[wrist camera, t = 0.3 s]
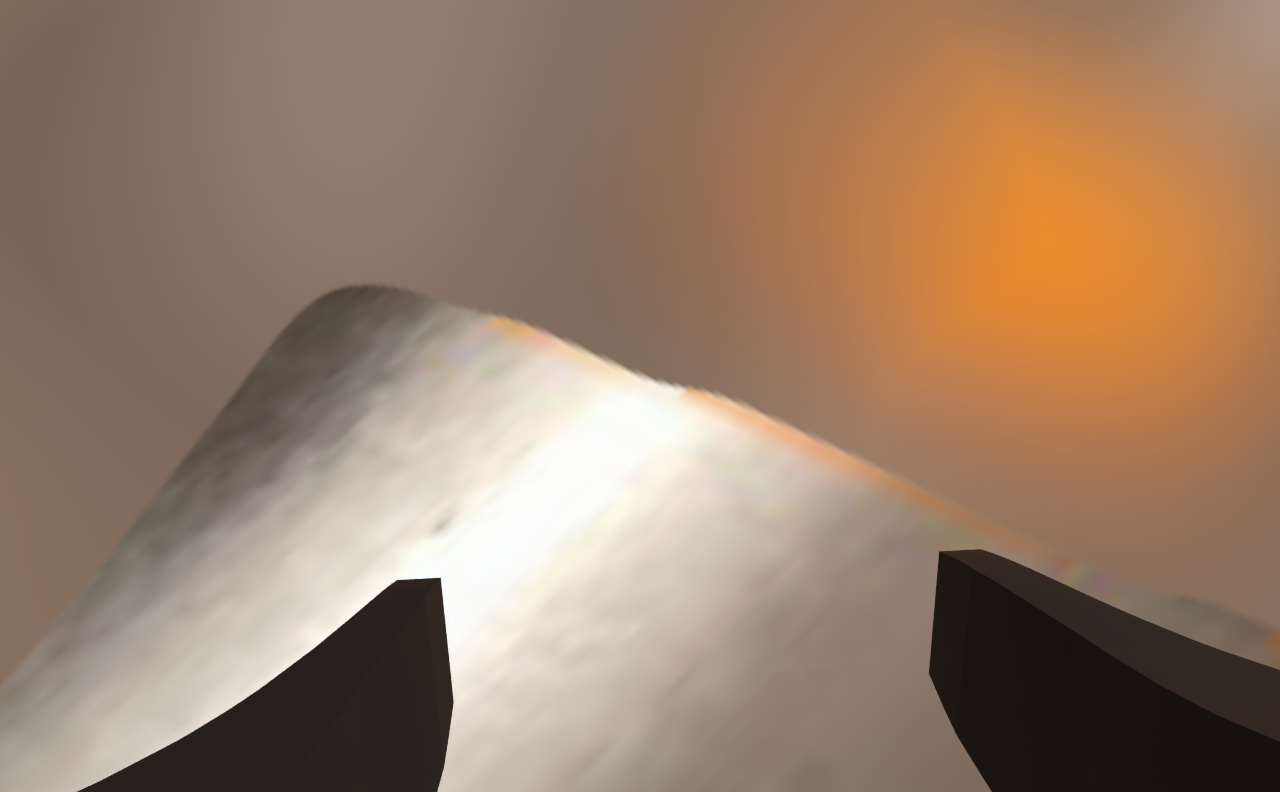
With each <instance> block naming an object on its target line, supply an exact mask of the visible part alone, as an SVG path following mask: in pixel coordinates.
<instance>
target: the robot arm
mask: <svg viewBox="0 0 1280 792" xmlns="http://www.w3.org/2000/svg"><path fill="white" fill-rule="evenodd" d="M929 675H930V677H931V679H932V682H933V684H934V686H935V689H936V691H937V693H938V695H939V698H940V700H941V702H942V705H943V707H944V709H945V711H946V713H947V716H948V718H949V720H950V722H951V724H952V726H953V728H954V730H955V733H956V735H957V736H958V738H959V740H960V741H961V743H962V744H963V746H964V748H965V749H966V751H967V753H968V754H969V756H970V758H971V759H972V761H973V762H974V764H975V766H976V767H977V769H978V770H979V772H980V774H981V775H982V777H983V778H984V780H985V782H986V783H987V785H988V786H989V788H990V789H991V791H992V792H1280V670H1278V669H1275V668H1272V667H1269V666H1266V665H1263V664H1260V663H1257V662H1254V661H1251V660H1248V659H1245V658H1242V657H1239V656H1236V655H1233V654H1230V653H1227V652H1224V651H1221V650H1219V649H1216V648H1213V647H1211V646H1208V645H1205V644H1203V643H1200V642H1197V641H1195V640H1192V639H1189V638H1187V637H1184V636H1182V635H1180V634H1177V633H1175V632H1172V631H1170V630H1167V629H1165V628H1162V627H1160V626H1157V625H1155V624H1152V623H1150V622H1147V621H1145V620H1143V619H1140V618H1138V617H1136V616H1133V615H1131V614H1129V613H1126V612H1124V611H1122V610H1120V609H1117V608H1115V607H1113V606H1111V605H1108V604H1106V603H1104V602H1102V601H1099V600H1097V599H1095V598H1093V597H1091V596H1088V595H1086V594H1084V593H1082V592H1080V591H1077V590H1075V589H1073V588H1071V587H1069V586H1067V585H1064V584H1062V583H1060V582H1058V581H1056V580H1054V579H1051V578H1049V577H1047V576H1045V575H1043V574H1041V573H1038V572H1036V571H1034V570H1032V569H1030V568H1027V567H1025V566H1023V565H1020V564H1018V563H1016V562H1014V561H1011V560H1009V559H1006V558H1004V557H1001V556H999V555H996V554H993V553H990V552H987V551H984V550H981V549H977V550H959V551H940V552H939V561H938V573H937V585H936V596H935V608H934V620H933V632H932V644H931V656H930V668H929ZM452 710H453V692H452V683H451V673H450V663H449V654H448V644H447V635H446V625H445V615H444V606H443V596H442V587H441V578H428V579H409V580H397V581H395V582H394V583H392V584H391V585H390V586H388V587H387V588H386V589H385V590H383V591H382V592H381V593H380V594H379V595H377V596H376V597H375V598H374V599H373V600H371V601H370V602H369V603H368V604H367V605H366V606H364V607H363V608H362V609H361V610H360V611H359V612H357V613H356V614H355V615H354V616H353V617H351V618H350V619H349V620H348V621H347V622H345V623H344V624H343V625H342V626H341V627H339V628H338V629H337V630H336V631H335V632H333V633H332V634H331V635H330V636H329V637H327V638H326V639H325V640H324V641H322V642H321V643H320V644H319V645H318V646H316V647H315V648H314V649H313V650H311V651H310V652H309V653H307V654H306V655H305V656H303V657H302V658H301V659H299V660H298V661H297V662H295V663H294V664H293V665H291V666H290V667H289V668H287V669H286V670H285V671H283V672H282V673H281V674H279V675H278V676H277V677H275V678H274V679H273V680H271V681H270V682H269V683H267V684H266V685H265V686H263V687H262V688H260V689H259V690H258V691H256V692H255V693H253V694H252V695H250V696H249V697H247V698H246V699H244V700H243V701H241V702H240V703H238V704H237V705H235V706H234V707H232V708H231V709H229V710H228V711H226V712H225V713H223V714H221V715H220V716H218V717H216V718H215V719H213V720H211V721H210V722H208V723H207V724H205V725H203V726H202V727H200V728H198V729H197V730H195V731H193V732H192V733H190V734H188V735H187V736H185V737H183V738H181V739H180V740H178V741H176V742H174V743H172V744H170V745H168V746H167V747H165V748H163V749H161V750H159V751H157V752H155V753H153V754H151V755H149V756H147V757H145V758H144V759H142V760H140V761H138V762H136V763H134V764H132V765H130V766H128V767H126V768H124V769H122V770H121V771H119V772H117V773H115V774H113V775H111V776H109V777H107V778H105V779H103V780H101V781H99V782H97V783H95V784H93V785H91V786H88V787H86V788H84V789H82V790H80V791H77V792H437V791H438V787H439V783H440V780H441V776H442V772H443V769H444V763H445V757H446V751H447V744H448V738H449V731H450V724H451V717H452Z"/></svg>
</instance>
